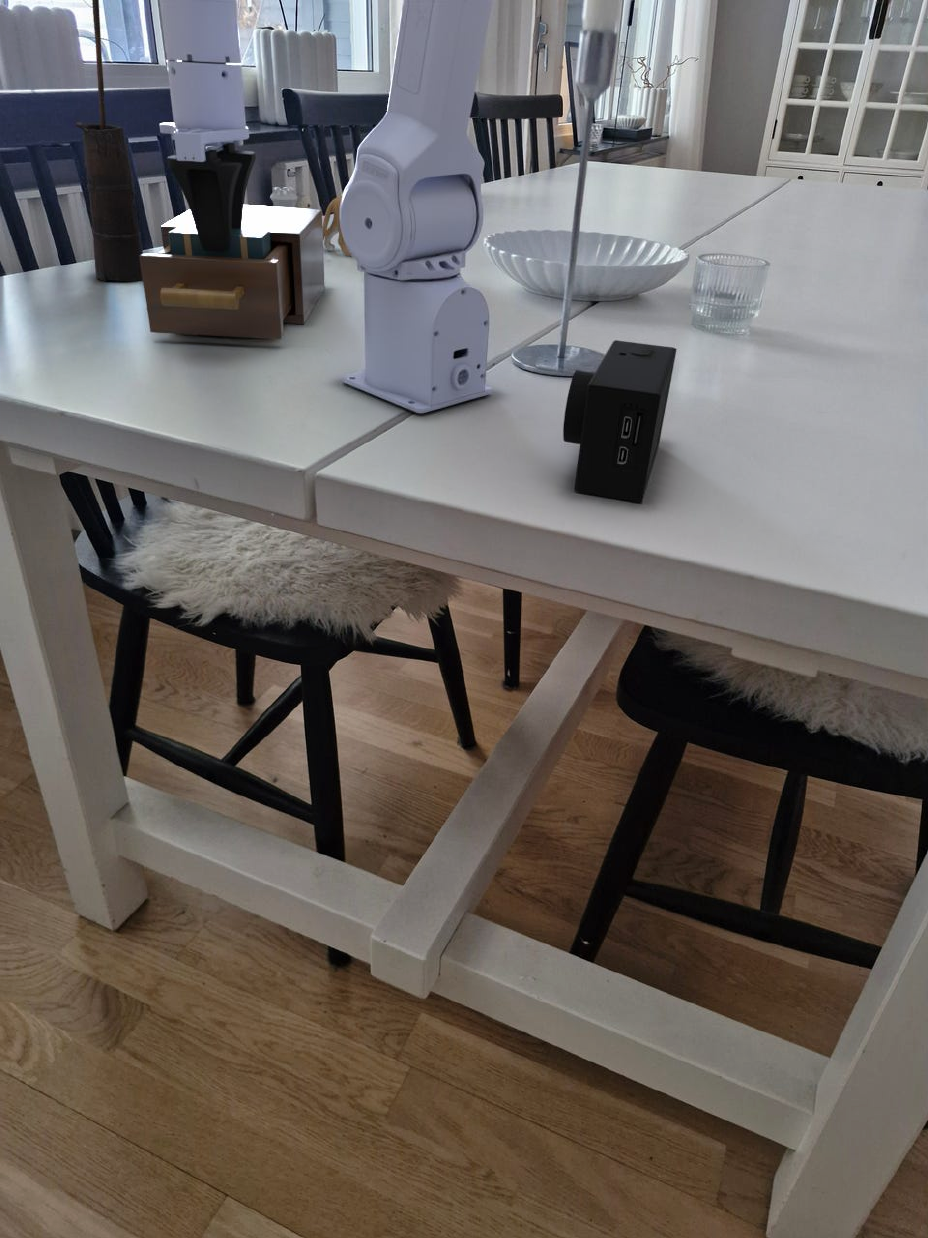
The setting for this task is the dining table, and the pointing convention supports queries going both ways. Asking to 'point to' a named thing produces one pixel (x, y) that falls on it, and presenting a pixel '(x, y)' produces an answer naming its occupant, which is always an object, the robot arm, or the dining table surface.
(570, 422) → the digital camera
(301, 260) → the cabinet
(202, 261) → the drawer
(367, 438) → the dining table surface
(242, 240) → the bundle
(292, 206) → the rook chess piece
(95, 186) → the butter churn
